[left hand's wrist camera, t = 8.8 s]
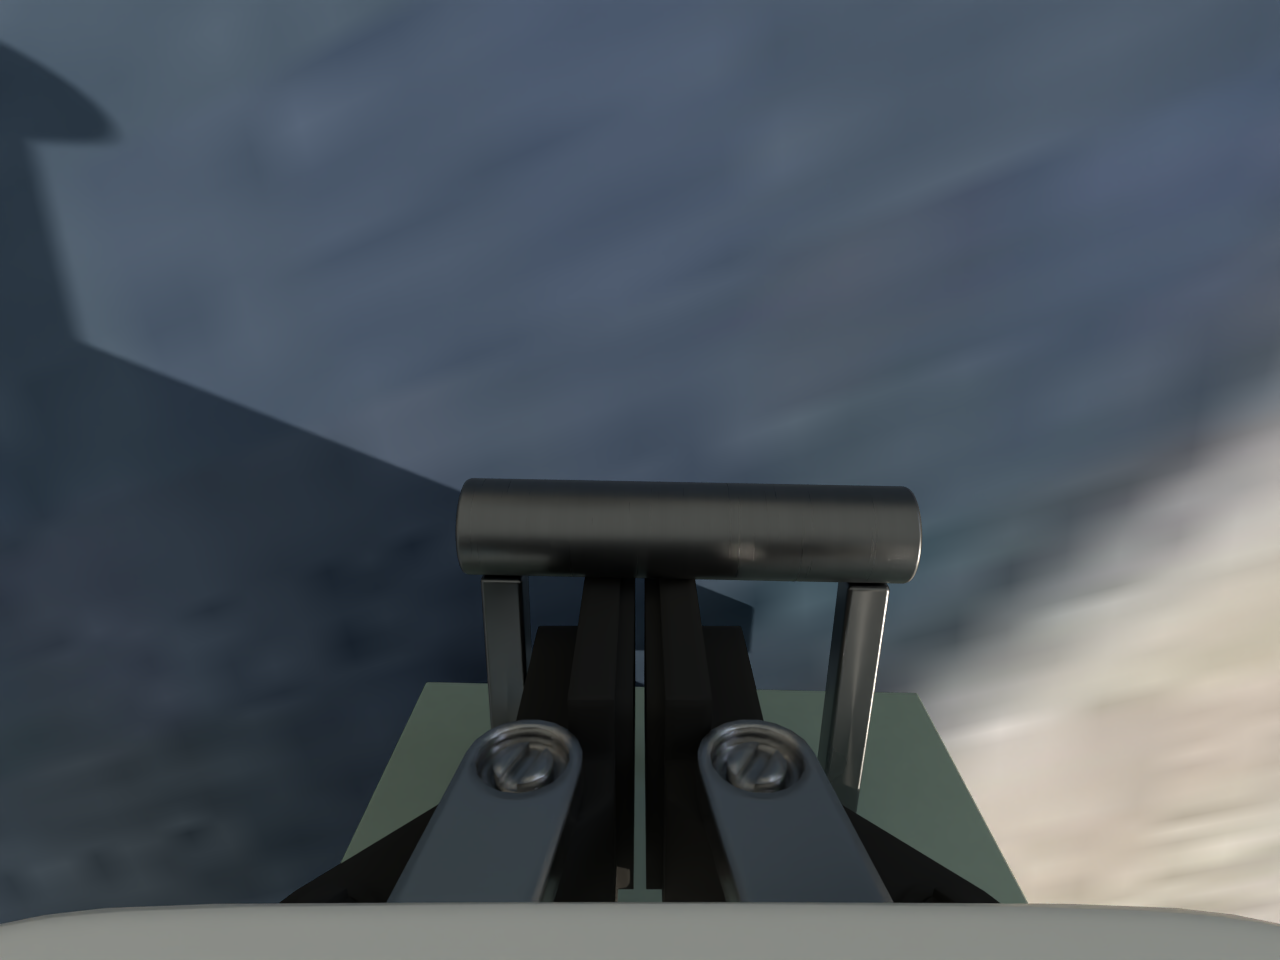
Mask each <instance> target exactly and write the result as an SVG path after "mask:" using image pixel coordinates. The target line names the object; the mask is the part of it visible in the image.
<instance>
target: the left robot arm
mask: <svg viewBox="0 0 1280 960" xmlns="http://www.w3.org/2000/svg"><path fill="white" fill-rule="evenodd" d="M644 724H645V829H646V889H662V902H618V889H634V800H635V578H615V577H585V581H584V588H583V595H582V602H581V609H580V615H579V622H578V626H539V627H538V630H537V634H536V638H535V642H534V647H533V651H532V655H531V659H530V664H529V668H528V672H527V676H526V680H525V685H524V689H523V693H522V697H521V702H520V706H519V710H518V714H517V718H516V721H513V722H508V723H504V724H502V725H499V726H497V727H495V728H493V729H490V730H488V731H487V732H485V733H484V734H483V735H481V736H480V737H479V738H477V739H476V740H475V741H474V742H473V744H472V745H471V746H470V748H469V749H468V750H467V751H466V753H465V755H464V757H463V759H462V761H461V763H460V764H459V766H458V768H457V770H456V772H455V774H454V776H453V778H452V780H451V781H450V783H449V785H448V787H447V789H446V791H445V793H444V795H443V797H442V798H441V800H440V802H439V804H438V805H436V806H435V807H433V808H431V809H430V810H428V811H426V812H425V813H423V814H421V815H420V816H418V817H416V818H415V819H413V820H412V821H410V822H408V823H407V824H405V825H403V826H402V827H400V828H398V829H397V830H395V831H393V832H392V833H390V834H388V835H387V836H385V837H384V838H382V839H380V840H379V841H377V842H375V843H374V844H372V845H370V846H369V847H367V848H365V849H364V850H362V851H360V852H359V853H357V854H356V855H354V856H352V857H351V858H349V859H347V860H346V861H344V862H342V863H341V864H339V865H337V866H336V867H334V868H332V869H331V870H329V871H328V872H326V873H324V874H323V875H321V876H319V877H318V878H316V879H314V880H313V881H311V882H309V883H308V884H306V885H304V886H303V887H301V888H299V889H298V890H296V891H295V892H293V893H292V894H291V895H289V896H288V897H287V898H285V899H284V900H283V901H281V902H280V903H274V904H198V905H172V906H146V907H121V908H101V909H92V910H83V911H75V912H66V913H57V914H48V915H42V916H37V917H32V918H27V919H22V920H17V921H12V922H8V923H3V924H0V960H1280V924H1277V923H1272V922H1268V921H1263V920H1258V919H1253V918H1248V917H1243V916H1238V915H1232V914H1223V913H1214V912H1205V911H1197V910H1188V909H1179V908H1159V907H1134V906H1108V905H1082V904H1005V903H1000V902H998V901H997V900H996V899H994V898H993V897H992V896H990V895H989V894H988V893H986V892H985V891H984V890H982V889H980V888H979V887H977V886H975V885H974V884H972V883H970V882H969V881H967V880H965V879H964V878H962V877H960V876H959V875H957V874H956V873H954V872H952V871H951V870H949V869H947V868H946V867H944V866H942V865H941V864H939V863H937V862H936V861H934V860H932V859H931V858H929V857H928V856H926V855H924V854H923V853H921V852H919V851H918V850H916V849H914V848H913V847H911V846H909V845H908V844H906V843H904V842H903V841H901V840H899V839H898V838H896V837H895V836H893V835H891V834H890V833H888V832H886V831H885V830H883V829H881V828H880V827H878V826H876V825H875V824H873V823H871V822H870V821H868V820H867V819H865V818H863V817H862V816H860V815H858V814H857V813H855V812H853V811H852V810H850V809H848V808H847V807H845V806H843V805H842V804H841V802H840V800H839V798H838V797H837V795H836V793H835V791H834V789H833V787H832V785H831V783H830V781H829V780H828V778H827V776H826V774H825V772H824V770H823V768H822V766H821V764H820V763H819V761H818V759H817V757H816V755H815V753H814V751H813V750H812V749H811V748H810V746H809V745H808V744H807V742H806V741H805V740H804V739H803V738H801V737H800V736H799V735H797V734H796V733H795V732H793V731H792V730H790V729H787V728H785V727H783V726H781V725H778V724H776V723H772V722H767V721H764V720H763V715H762V711H761V707H760V703H759V699H758V694H757V690H756V686H755V682H754V677H753V673H752V669H751V665H750V661H749V656H748V652H747V648H746V644H745V639H744V635H743V631H742V628H741V627H740V626H702V625H701V618H700V611H699V604H698V597H697V590H696V583H695V579H663V578H645V640H644Z"/></svg>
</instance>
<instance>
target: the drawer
mask: <svg viewBox="0 0 1280 960" xmlns="http://www.w3.org/2000/svg"><path fill="white" fill-rule="evenodd" d="M921 547H922V524H921V517H920V511H919V507H918V504H917V501H916V498H915V496H914V494H913V493H912V491H911V490H910V489H908V488H906V487H903V486H853V485H800V484H748V483H695V482H643V481H591V480H538V479H486V478H471V479H468V480H467V481H466V482H465V483H464V485H463V487H462V490H461V493H460V497H459V501H458V506H457V514H456V550H457V556H458V560H459V564H460V567H461V569H462V571H463V572H464V573H466V574H471V575H483V576H482V579H481V594H482V608H483V623H484V637H485V651H486V666H487V680H488V683H444V682H427V683H426V684H425V686H424V688H423V690H422V692H421V694H420V697H419V699H418V701H417V703H416V705H415V707H414V709H413V711H412V714H411V716H410V718H409V720H408V722H407V724H406V726H405V728H404V730H403V733H402V735H401V737H400V739H399V741H398V743H397V745H396V747H395V749H394V752H393V754H392V756H391V758H390V760H389V762H388V764H387V766H386V768H385V771H384V773H383V775H382V777H381V779H380V781H379V783H378V785H377V787H376V790H375V792H374V794H373V796H372V798H371V800H370V802H369V804H368V806H367V809H366V811H365V813H364V815H363V817H362V819H361V821H360V823H359V825H358V828H357V830H356V832H355V834H354V836H353V838H352V840H351V842H350V844H349V847H348V849H347V851H346V853H345V855H344V857H343V859H342V861H341V863H342V862H344V861H346V860H347V859H349V858H351V857H352V856H354V855H356V854H357V853H359V852H360V851H362V850H364V849H365V848H367V847H369V846H370V845H372V844H374V843H375V842H377V841H379V840H380V839H382V838H384V837H385V836H387V835H388V834H390V833H392V832H393V831H395V830H397V829H398V828H400V827H402V826H403V825H405V824H407V823H408V822H410V821H412V820H413V819H415V818H416V817H418V816H420V815H421V814H423V813H425V812H426V811H428V810H430V809H431V808H433V807H435V806H436V805H438V804H439V802H440V800H441V798H442V797H443V795H444V793H445V791H446V789H447V787H448V785H449V783H450V781H451V780H452V778H453V776H454V774H455V772H456V770H457V768H458V766H459V764H460V763H461V761H462V759H463V757H464V755H465V753H466V751H467V750H468V749H469V748H470V746H471V745H472V744H473V742H474V741H475V740H476V739H477V738H479V737H480V736H481V735H483V734H484V733H485V732H487V731H488V730H490V729H493V728H495V727H497V726H499V725H502V724H504V723H508V722H513V721H516V718H517V714H518V710H519V706H520V702H521V697H522V693H523V689H524V685H525V680H526V676H527V672H528V668H529V664H530V659H531V655H532V649H531V626H530V603H529V581H528V576H567V577H615V578H663V579H712V580H760V581H808V582H838V591H837V599H836V607H835V616H834V624H833V632H832V641H831V649H830V657H829V666H828V674H827V682H826V691H796V690H757V694H758V699H759V703H760V707H761V711H762V715H763V720H764V721H767V722H772V723H776V724H778V725H781V726H783V727H785V728H787V729H790V730H792V731H793V732H795V733H796V734H797V735H799V736H800V737H801V738H803V739H804V740H805V741H806V742H807V744H808V745H809V746H810V748H811V749H812V750H813V751H814V753H815V755H816V757H817V759H818V761H819V763H820V764H821V766H822V768H823V770H824V772H825V774H826V776H827V778H828V780H829V781H830V783H831V785H832V787H833V789H834V791H835V793H836V795H837V797H838V798H839V800H840V802H841V804H842V805H843V806H845V807H847V808H848V809H850V810H852V811H853V812H855V813H857V814H858V815H860V816H862V817H863V818H865V819H867V820H868V821H870V822H871V823H873V824H875V825H876V826H878V827H880V828H881V829H883V830H885V831H886V832H888V833H890V834H891V835H893V836H895V837H896V838H898V839H899V840H901V841H903V842H904V843H906V844H908V845H909V846H911V847H913V848H914V849H916V850H918V851H919V852H921V853H923V854H924V855H926V856H928V857H929V858H931V859H932V860H934V861H936V862H937V863H939V864H941V865H942V866H944V867H946V868H947V869H949V870H951V871H952V872H954V873H956V874H957V875H959V876H960V877H962V878H964V879H965V880H967V881H969V882H970V883H972V884H974V885H975V886H977V887H979V888H980V889H982V890H984V891H985V892H986V893H988V894H989V895H990V896H992V897H993V898H994V899H996V900H997V901H998V902H1000V903H1005V904H1028V902H1027V900H1026V898H1025V896H1024V894H1023V892H1022V891H1021V889H1020V887H1019V885H1018V883H1017V881H1016V879H1015V877H1014V875H1013V874H1012V872H1011V870H1010V868H1009V866H1008V864H1007V862H1006V860H1005V858H1004V857H1003V855H1002V853H1001V851H1000V849H999V847H998V845H997V843H996V841H995V840H994V838H993V836H992V834H991V832H990V830H989V828H988V826H987V824H986V823H985V821H984V819H983V817H982V815H981V813H980V811H979V809H978V807H977V806H976V804H975V802H974V800H973V798H972V796H971V794H970V792H969V790H968V789H967V787H966V785H965V783H964V781H963V779H962V777H961V775H960V773H959V772H958V770H957V768H956V766H955V764H954V762H953V760H952V758H951V756H950V755H949V753H948V751H947V749H946V747H945V745H944V743H943V741H942V739H941V738H940V736H939V734H938V732H937V730H936V728H935V726H934V724H933V722H932V721H931V719H930V717H929V715H928V713H927V711H926V709H925V707H924V705H923V704H922V702H921V700H920V698H919V696H918V694H916V693H884V692H874V691H875V684H876V678H877V671H878V664H879V657H880V650H881V644H882V637H883V630H884V623H885V617H886V610H887V603H888V596H889V587H888V585H887V583H906V582H909V581H910V580H911V579H912V578H913V577H914V575H915V573H916V571H917V568H918V564H919V560H920V555H921ZM341 863H340V864H341ZM618 902H662V889H646V829H645V724H644V687H635V800H634V889H618Z"/></svg>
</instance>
